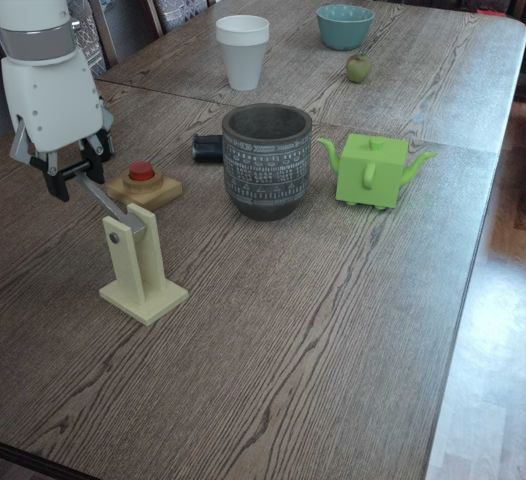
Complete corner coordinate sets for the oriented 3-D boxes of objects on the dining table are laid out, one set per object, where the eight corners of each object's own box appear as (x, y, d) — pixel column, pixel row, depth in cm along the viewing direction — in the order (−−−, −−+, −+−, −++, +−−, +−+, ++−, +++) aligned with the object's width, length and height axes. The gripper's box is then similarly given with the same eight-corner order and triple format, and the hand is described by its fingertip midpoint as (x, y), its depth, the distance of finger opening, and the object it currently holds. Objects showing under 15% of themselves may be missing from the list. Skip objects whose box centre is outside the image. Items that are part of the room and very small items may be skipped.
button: (125, 177, 95) (123, 167, 94) (143, 168, 98) (141, 159, 96) (141, 184, 94) (139, 175, 92) (158, 175, 96) (157, 166, 95)
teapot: (425, 205, 96) (440, 146, 88) (367, 228, 91) (377, 168, 83) (368, 169, 105) (377, 113, 97) (312, 188, 100) (316, 131, 92)
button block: (107, 195, 98) (102, 175, 95) (145, 176, 103) (141, 156, 100) (145, 215, 94) (141, 194, 91) (182, 194, 98) (180, 173, 96)
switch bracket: (100, 296, 79) (78, 215, 69) (142, 270, 83) (126, 190, 74) (147, 327, 74) (130, 245, 65) (189, 297, 79) (179, 216, 69)
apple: (367, 74, 139) (371, 48, 135) (369, 86, 134) (373, 60, 130) (343, 73, 140) (346, 48, 136) (344, 85, 134) (347, 59, 130)
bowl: (372, 38, 159) (377, 6, 153) (367, 57, 148) (371, 22, 142) (319, 34, 161) (321, 2, 155) (309, 52, 150) (311, 18, 145)
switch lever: (53, 180, 71) (54, 167, 69) (85, 165, 74) (86, 152, 72) (122, 250, 70) (124, 238, 68) (151, 233, 73) (154, 221, 71)
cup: (252, 99, 128) (252, 34, 118) (208, 89, 132) (204, 25, 123) (277, 82, 136) (279, 19, 126) (235, 72, 140) (233, 11, 130)
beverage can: (74, 158, 108) (58, 95, 99) (99, 145, 111) (85, 84, 103) (98, 167, 105) (83, 103, 97) (122, 154, 109) (110, 92, 100)
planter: (209, 213, 94) (202, 127, 83) (253, 177, 103) (252, 95, 92) (280, 238, 89) (283, 150, 78) (321, 199, 97) (328, 114, 87)
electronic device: (194, 175, 106) (271, 163, 105) (188, 146, 103) (267, 134, 101) (198, 158, 113) (270, 147, 112) (192, 131, 110) (266, 119, 109)
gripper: (81, 16, 67) (110, 157, 80) (-52, 53, 58) (6, 206, 71) (121, 28, 63) (145, 174, 76) (-12, 69, 54) (41, 227, 67)
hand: (78, 188), depth 73 cm, fingers closed on switch lever, 5 cm apart
